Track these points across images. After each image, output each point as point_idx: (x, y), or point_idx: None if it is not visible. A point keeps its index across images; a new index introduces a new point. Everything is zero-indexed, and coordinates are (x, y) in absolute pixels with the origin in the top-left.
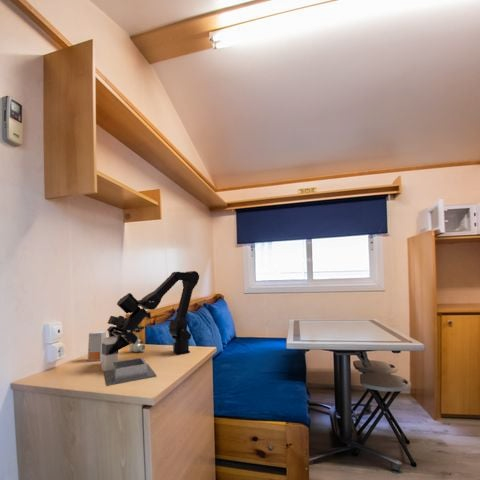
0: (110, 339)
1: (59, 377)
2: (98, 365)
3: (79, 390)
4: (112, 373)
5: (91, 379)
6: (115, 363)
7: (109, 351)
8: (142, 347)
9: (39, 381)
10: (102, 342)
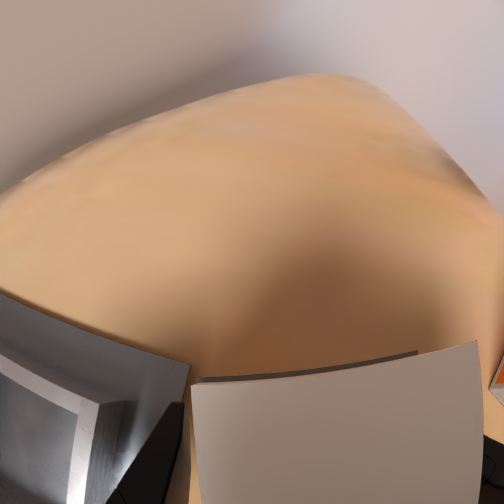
0: (204, 488)
1: (304, 154)
2: None
3: (26, 182)
4: (86, 378)
5: (115, 257)
6: (40, 391)
7: (168, 411)
8: None
9: (299, 101)
10: (421, 354)
